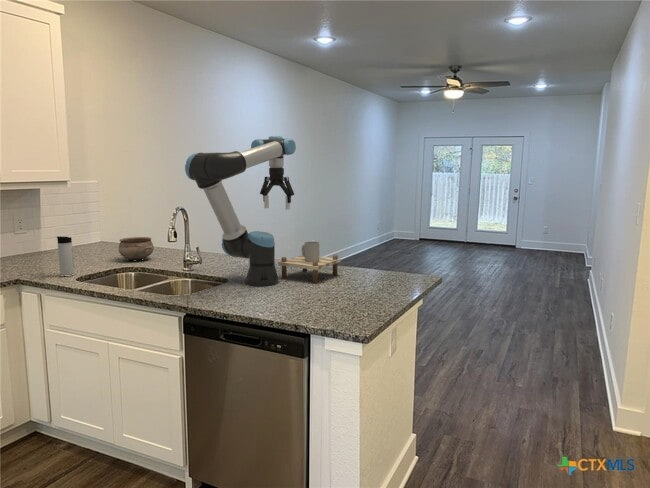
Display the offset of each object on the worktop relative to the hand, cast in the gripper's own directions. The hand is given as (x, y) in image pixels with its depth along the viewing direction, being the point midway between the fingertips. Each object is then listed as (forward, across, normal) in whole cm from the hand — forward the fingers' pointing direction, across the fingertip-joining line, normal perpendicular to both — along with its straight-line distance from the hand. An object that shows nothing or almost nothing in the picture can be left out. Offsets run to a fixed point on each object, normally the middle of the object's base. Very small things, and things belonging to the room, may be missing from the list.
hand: (277, 208), depth 257 cm
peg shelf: (+32, -24, +6) cm, 40 cm away
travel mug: (+32, +80, +67) cm, 109 cm away
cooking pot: (+32, +85, +22) cm, 93 cm away
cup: (+24, -24, +6) cm, 34 cm away
